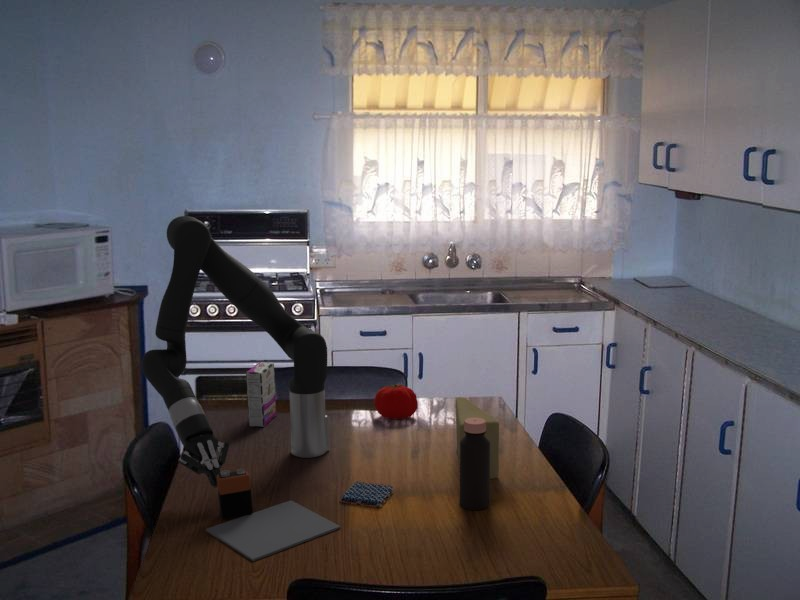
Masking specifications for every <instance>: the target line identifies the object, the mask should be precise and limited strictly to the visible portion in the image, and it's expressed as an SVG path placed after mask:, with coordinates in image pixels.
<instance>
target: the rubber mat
mask: <svg viewBox="0 0 800 600" xmlns="http://www.w3.org/2000/svg"><path fill="white" fill-rule="evenodd" d="M340 529H341V525H339V524H337V523H335V522H333V521H331V520H330V519H328V518H326V517H323V516H321V514H318V513H316V512H314V511H313V510H310V509H309V508H307V507H305V506H303V505H301V504H299V503H298V502H295V501H293V500H292V499H290V500H289V501H284V502H282V503H279V504H275V505H273V506H269V507H266V508H264V509H261V510H258V511H255V512H253V513H252V514H249V515H244V516H239V517H236V518H234V519H231V520H228V521H225V522H223V523H220V524H217V525H214V526H210V527H207V528H206V529H205V530H206V532H207V533H208V534H209V535H211V536H213V537H215V538H216V539H218V540H219V541H220V542H222V543H224V544H225V545H227V546H228V547H230V548H231V549H233V550H235V551H236V552H238V553H239V554H241V555H242V556H244V557H245V558H247V559H248V560H249V561H251V562H255V561H258V560H260V559H263V558H265V557H269V556H272V555H274V554H277V553H279V552H282V551H285V550H287V549H290V548H292V547H295V546H299V545H300V544H303V543H305V542H308V541H311V540H314V539H315V538H316V539H317V538H319V537H321V536H324V535H327V534H329V533H332V532H334V531H337V530H340Z"/></svg>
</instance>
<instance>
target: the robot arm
mask: <svg viewBox="0 0 800 600" xmlns="http://www.w3.org/2000/svg"><path fill="white" fill-rule="evenodd" d="M166 240H167V242H168V244H169V246H170V248H171V249H172V250H173V265H172V269H171V270H172V271H171V275H170V280H169V282H168V285H167V287H166V289H165V292H164V294H163V296H162V299H161V303H160V307H159V309H158V316H157V320H156V325H155V336H156V338H157V339H159V340H161V341H164V342H166V349H165V348H164V349H161V348H159V349H158V348H157V349H150V350H148V351H146V352H145V353H144V355H142V356H143V357H142V359H141V369H142V372H143V375H144V377H145V378H146V380H147V381H148V382H149V383H150V384H151V386H152V387H153V388H154V389H155V391H156V392H157V393H158V394H159V395H160V396H161V398H162V400H163V402H164V404H165V407H166V408H167V410H168V414H169V418H170V420H171V422H172V426H173V427H174V429H175V431H176V434H177V437H178V438H179V441H180V443H181V445H182V446H183V447H182V448H183V449H182V451H183V453H182V454H181V455H180V457H179V458H178V460H177V462H178V464H180V465H182V466H184V467H186V468H187V469H189V470H191V471H192V472H193V473H195V474H197V475H202V474H204V475H206V477H207V480H208V482H209V483H210V486H211V487H213V488H215V489H218V487H217V475H218V474H221V473H220V472H222V471H221V468H222V467H223V466H224V464H226V459H227V455H228V452H229V449H230V443H229V442H227V441H226V442H221V441H219V439H218V437H216V436H215V435H214V433H213V428H212V427H211V424H210V422H209V420H208V418H207V415H206V414H205V411H204V409H203V407H202V406H201V404H200V402H199V401H198V399H197V397H196V394H195V393H194V391H193V388H192V386H191V384H190V383H189V382H188V381H187V380H186V379H183V378H179V377H180V376H181V375H183V373H184V372H185V369H186V366H187V348H186V346H187V345H186V344H187V343H186V331H187V327H188V322H189V318H190V312H191V306H192V301H193V297H194V293H195V288H196V285H197V282H198V278H199V275H200V272H201V271H202V272H203V274H205V276H206V277H207V278H208V279H209V280H210V281H211V283H212V284H213V285H214V286H215V287H216V288H217V290H219V292H220V293H221V294H222V295H223V296H224V297H225V298H226V300H227V301H229V302H230V304H232V305H233V306H234V307H235V308H236V309H237V310H238V311H239V312H241V314H243V315H244V316H245V317H246V318H248V319H249V320H250V321H252V322H253V323H254V324H255V325H257V326H258V327H260V328H261V329H263V330H264V331H265V332H266V333H267V334H268V335H269V336H270V337H271V338H272V339H273V340H274V342H276V344H277V345H278V346H279V347H280V349H282V351H283V352H284V353H285V355H286V356H287V357H288V358H289V359H291V361H293V376H292V377H291V378H290V379H289V381H288V390H289V392H288V393H289V394H288V395H289V396H288V397H289V415H290V416H289V417H290V418H289V419H290V420H289V421H290V423H289V424H290V445H291V446H290V449H291V455H292V456H294V457H297V458H302V459H303V458H308V459H309V458H310V459H311V458H316V457H320V456H322V455H325V454H326V453H327V452H328V451H330V426H329V425H330V421H329V420H330V419H329V415H326V400H325V399H326V395H325V394H326V392H325V389H326V388H325V385H326V384H325V383H326V382H327V377H328V346H327V342H326V340H325V337H323V336H322V335H321V334H320V333H318V332H317V331H315V330H312V329H310V328H309V327H308V326H307V327H306V326H305V325H304V324H302V323H300V321H298V320H297V319H296V318H294V317H293V316H292V315H291V314H290V313H289V312H287V311H286V310H285V308H284V307H283V306H282V304H281V302H280V301H279V299H278V298H277V297H276V295H275V293H274V292H273V291H272V289H271V288H270V287H269V286H268V285H267V284H266V283H265V282H264V281H263V280H262V279H261V278H260V277H258V275H257V274H255V273H254V272H253V271H252V270H251V269H250V268H249V267H247V266H246V265H245V264H243V263H242V262H241V261H239V260H238V259H236V258H235V257H233V256H232V255H231V254H229V253H228V252H227V251H225V250H224V249H223V248H222V247H221V246H220V245H219V243H217V241H216V240H215V239H214V238H213V237H212V235H211V231H210V229H209V227H208V226H207V225H206V224H205V223H204V222H203V221H201V220H199V219H197V218H196V217H194V216H189V215H181V216H178V217H175V218H174V219H172V220H171V221H170V222H169V224H168V225H167V228H166ZM217 451H218V453H219V455H218V456H217Z"/></svg>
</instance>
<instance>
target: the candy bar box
mask: <svg viewBox="0 0 800 600" xmlns="http://www.w3.org/2000/svg"><path fill="white" fill-rule="evenodd" d="M245 378H246V394H247V395H246V396H247V409H248V410H247V411H248V412H247V413H248V415H247V416H248V426H249V427H252V428H255V427H256V428H265V427H266V426H267V425H268V424H269V423H270V422H271V421H272V420H273V419H274V418H275V417H276V416H278V415H277V399H276V379H275V378H276V377H275V363H274V362H265V361H259V362H258V363H257V364H255V365H253V367H251V368H250V369H249V370H247V371H246V372H245Z"/></svg>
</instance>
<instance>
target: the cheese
mask: <svg viewBox="0 0 800 600" xmlns="http://www.w3.org/2000/svg"><path fill="white" fill-rule="evenodd" d="M455 398H456V399H455V420H456V421H455V423H456V424H455V425H456V427H455V428H456V451H457V456H458V460H459V462H460V441H461V440H462V438H463V437H464V436H465V432H464V420H465V419H467V418H475V417H476V418H482V419H484V420H486V433H485V437H486V438H487V439H488V440H489V442H490V480H491V479H493V480H494V479H497V478H498V477H499V470H500V469H499V468H500V466H499V465H500V461H499V460H500V455H499V454H500V453H499V452H500V451H499V450H500V448H499V445H500V423H499V421H497V420H496V419H495V418H493V417H492V416H491V415H489V413H487V412H486V411H484V410H482V409H481V408H480V407H478V406H477V405H476V404H474V403H473V402H472V401H470V400H469V399H468V398H466V397H463V396H460V397H459V396H458V397H455Z"/></svg>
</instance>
